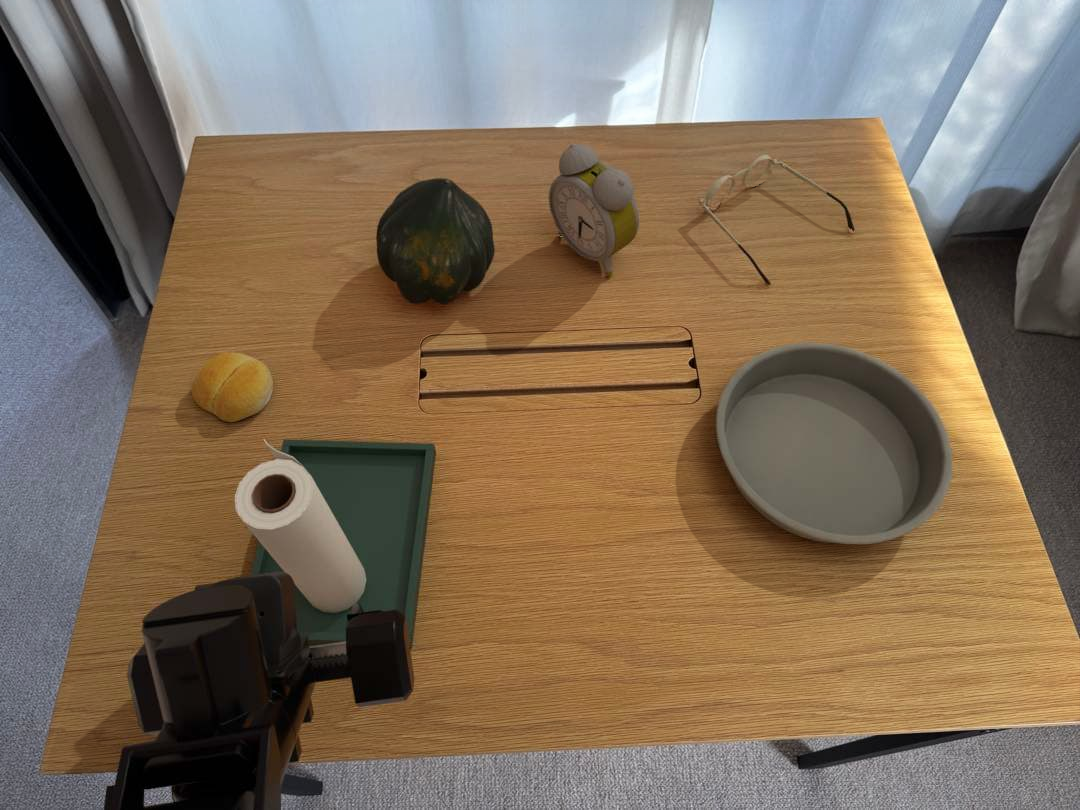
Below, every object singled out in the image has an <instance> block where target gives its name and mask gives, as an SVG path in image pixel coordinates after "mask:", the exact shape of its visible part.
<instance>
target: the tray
mask: <svg viewBox="0 0 1080 810" xmlns="http://www.w3.org/2000/svg"><path fill="white" fill-rule="evenodd" d="M280 452H282V453H285V454H288V455H290V456H293V457H294V458H295V459H296V460H297V461H298V462H299V463H300V464H301V465H302V466H303V467H304V468H305V469H306V470H307V472H308V473H309V474H310V475H311V476H312V478H313V480H314V482H315V483H316V485H317V487H318V489H319V490H320V492H321V494H322V496H323V497H324V499H325V501H326V503H327V504H328V506H329V508H330V510H331V511H332V513H333V515H334V517H335V519H336V520H337V522H338V524H339V526H340V527H341V529H342V531H343V533H344V534H345V536H346V538H347V540H348V541H349V543H350V545H351V547H352V548H353V550H354V552H355V554H356V555H357V557H358V559H359V561H360V562H361V564H362V566H363V568H364V570H365V575H366V585H365V589H364V592H363V594H362V596H361V597H360V599H359V600H358V602H357V603H360V605H361V606H362V608H363V610H364V612H368V611H376V610H382V611H390V610H398V611H399V612H401V613H402V614H404V615H405V616H406V623H407V630H408V637H409V644H410V650H411V649H413V645H414V637H415V627H416V620H417V619H416V618H417V613H418V612H417V611H418V603H419V595H420V588H421V587H420V586H421V579H422V572H423V571H422V570H423V562H424V555H425V545H426V538H427V531H428V523H429V521H428V520H429V515H430V506H431V497H432V489H433V480H434V472H435V466H436V456H437V451H436V446H435V444H434V443H425V442H423V443H419V442H391V441H390V442H388V441H385V442H384V441H383V442H382V441H358V440H357V441H355V440H353V441H352V440H351V441H350V440H320V439H319V440H317V439H283V440H282V445H281V449H280ZM251 567H252V568H251V570H250V571H251V572H250V575H257V574H265V573H272V572H284V571H283V569H282V568H281V567H280V566H279V564H278V563H277V562H276V561H275V560H274V558H273V557H272V556H271V555H270V554H269V552H268V551H267V550H266V549H265V548H264V546H263V545H262V544H261V543H260V542H259V541H258V543H257V546H256V550H255V554H254V558H253V562H252V566H251ZM294 585H295V584H294ZM294 595H295V608H296V620H297V631H298V632H299V635H300V636H303V635H307V637H308V642H309V646H315V645H322V644H330V643H337V642H345V641H346V626H347V623H348V621H347V614H351V611H352V607H353V606H354V605H353V606H351V607H350V608H349V609H347V610H344V611H341V612H337V613H328V612H322V611H320V610H319V609H317V608H315V607H313V606H312V604H311V603H310V602H309V601H308V600H307V598H306V597H305V596H304V595H303V593H302V592H301V591H300V590H299V589H298V587H297V586H296V585H295V593H294Z"/></svg>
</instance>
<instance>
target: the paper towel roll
mask: <svg viewBox="0 0 1080 810" xmlns="http://www.w3.org/2000/svg"><path fill="white" fill-rule="evenodd" d="M263 441H264V443H265V444H266V446H267V448H268V449H269V451H270V452H271V454H272V456H273V457H274V459H273V460H269V461H264V462H262V463H259V464H258V465H256V466H255V467H254V468H252V469H251V470H249V471H248V472H247V473H246V474H245V476H243V478H242V479H241V480H240V482H239V483H238V486H237V488H236V492H235V496H234V505H235V512H236V514H237V515H238V516H239V518H240V520H241V521H242V522H243V524H244V525H245V526H246V527H247V528H248V529H249V531H250V532H251V534H252V535H253V536H254V537H255V538H256V539H257V540H258V542H260V543H261V544H262V545H263V546H264V548H265V549H266V550H267V551H268V552H269V554H270V555H271V556H272V557H273V558H274V560H275V561H276V562H277V563H278V564H279V566H280V567H281V568H282V569H283V571H284V572H285V573H288V574H289V575H290V576H291V577H292V578H293V581H294V584H295V585H296V586H297V587H298V589H299V590H300V591H301V592H302V593H303V595H304V596H305V597H306V598H307V600H308V601H309V602H310V603H311V604H312V606H313V607H315V608H317V609H319V610H320V611H322V612H328V613H337V612H341V611H344V610H347V609H349V608H350V607H351V606H353V605H354V604H355V603H357V602H358V600H359V599H360V597H361V596H362V594H363V592H364V589H365V585H366V575H365V570H364V568H363V566H362V564H361V562H360V561H359V559H358V557H357V555H356V554H355V552H354V550H353V548H352V547H351V545H350V543H349V541H348V540H347V538H346V536H345V534H344V533H343V531H342V529H341V527H340V526H339V524H338V522H337V520H336V519H335V517H334V515H333V513H332V511H331V510H330V508H329V506H328V504H327V503H326V501H325V499H324V497H323V496H322V494H321V492H320V490H319V489H318V487H317V485H316V483H315V482H314V480H313V478H312V476H311V475H310V474H309V473H308V472H307V470H306V469H305V468H304V467H303V466H302V465H301V464H300V463H299V462H298V461H297V460H296V459H295V458H294V457H293V456H290V455H288V454H285V453H282V452H281V450H280V451H279V450H278V449H276V448H274V447H273V446H271V445H270V444H269V443H268V441H266V439H265V438H263Z"/></svg>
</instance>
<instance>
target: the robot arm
mask: <svg viewBox="0 0 1080 810" xmlns="http://www.w3.org/2000/svg"><path fill="white" fill-rule="evenodd" d="M294 593H295V585H294V581H293V578H292V577H291V576H290V575H289V574H288V573H285V572H272V573H265V574H257V575H251V574H249V575H240V576H235V577H231V578H227V579H224V580H220V581H216V582H211V583H203V584H197V585H195V586H194V590H191V591H188V592H185V593H182V594H180V595H177V596H174V597H172V598H170V599H167V600H166V601H164V602H162V603H160V604H159V605H157V606H156V607H154V608H152V609H151V610H150V611H149V612H148V613H147V614H145V615H144V617H143V618H142V620H141V622H142V623H141V624H142V625H141V634H142V639H143V641H144V642H143V644H142V646H141V647H140V648H139V649H138V651H137V652H136V653H135V654H134V655H133V656H132V658H131V659H130V660H129V662H128V665H127V670H126V671H127V672H126V677H127V682H128V687H129V690H130V694H131V698H132V699H131V700H132V702H133V703H132V704H133V708H134V712H135V715H136V719H137V724H138V727H139V728H140V729H141V731H142V732H143V733H144V734H146V735H149V736H151V737H154V736H156V738H155V739H154V740H153V741H147V742H139V743H133V744H126V745H124V746H122V748H121V753H120V758H119V762H118V767H117V770H116V771H117V772H116V777H115V781H114V784H111V785H107V786H106V788H105V797H104V804H103V810H282V784H283V782H284V779H285V776H286V773H287V770H288V768H289V765H290V764H292V763H297V762H299V761H300V758H301V755H302V752H303V750H302V745H301V740H300V739H301V738H300V732H301V728H302V725H303V724H307V723H312V721H313V718H314V715H315V711H314V706H313V701H312V696H313V693H314V689H315V686H316V683H321V682H329V681H336V680H342V679H350V681H351V687H352V692H353V699H354V703H355V705H356V706H357V707H358V708H363V707H364V708H365V707H371V706H378V705H384V704H385V705H386V704H392V703H399V702H405V701H406V702H407V700H408V699H409V698H410V696H411V695H412V693H413V692H414V687H415V686H414V685H415V680H416V679H415V672H414V665H413V660H412V658H413V657H412V651H411V649H410V644H409V637H408V630H407V623H406V616H405V615H404V614H402V613H401V612H399V611H398V610H390V611H382V610H376V611H368V612H364V610H363V608H362V606H361V605H360V603H355V604H354V606H353V607H352V611H351V614H347V621H348V623H347V626H346V641H345V642H337V643H330V644H322V645H309V642H308V637H307V635H303V636H300V635H299V632H298V631H297V620H296V608H295V595H294ZM169 787H170V788H171V789H170V792H171V799H172V801H171V802H164V803H163V802H162V803H157V804H151V805H145V791H147V790H155V789H162V788H169Z"/></svg>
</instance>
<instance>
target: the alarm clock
mask: <svg viewBox="0 0 1080 810" xmlns="http://www.w3.org/2000/svg"><path fill="white" fill-rule="evenodd" d="M598 155H599V154H598V153H597V152H596V151H595V150H594V149H593V148H592V147H591V146H589V145H587V144H582V143H577V144H576V143H571V144H570V145H569V147H567V148H565V150H564V151H563V152H562V154H561V156H560V158H559V161H558V162H559V163H558V170H559V175H558V176H557V177H556V178H555V179H554V180H553V181H552V182H551V184H550V188H549V190H548V191H549V192H548V204H549V210H550V213H551V216H552V219H553V221H554V224H555V226H556V228H557V230H558V233H557V235H558V234H559V235H560V236H563V237H562V238H563V239H564V240H565V242H566V243H567V245H568V246H569V247H570V248H571V249H573V251H575V252H576V254H579V255H580V256H581V257H583V258H584V259H587V260H590V261H593V262H600V264H601V266H602V268H603V270H604V273H605V275H606V277H607V278H611V277H613V264H612V262H613V261H612V256H613V255H615V254H616V253H618V252H620V251H621V250H622V249H624V248H626V247H627V246H628V245H630V244H631V243H632V242H633V240H635V238H636V236H637V234H638V232H639V227H640V214H639V209H638V205H637V200H636V199H635V197H634V192H635V189H634V183H633V181H632V179H631V177H630V175H629V174H627V173H626V172H625V171H623V170H620V169H618V168H613V167H612V166H611V165H609V164H607V163H606V162H603V161H600V158H599V156H598Z"/></svg>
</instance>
